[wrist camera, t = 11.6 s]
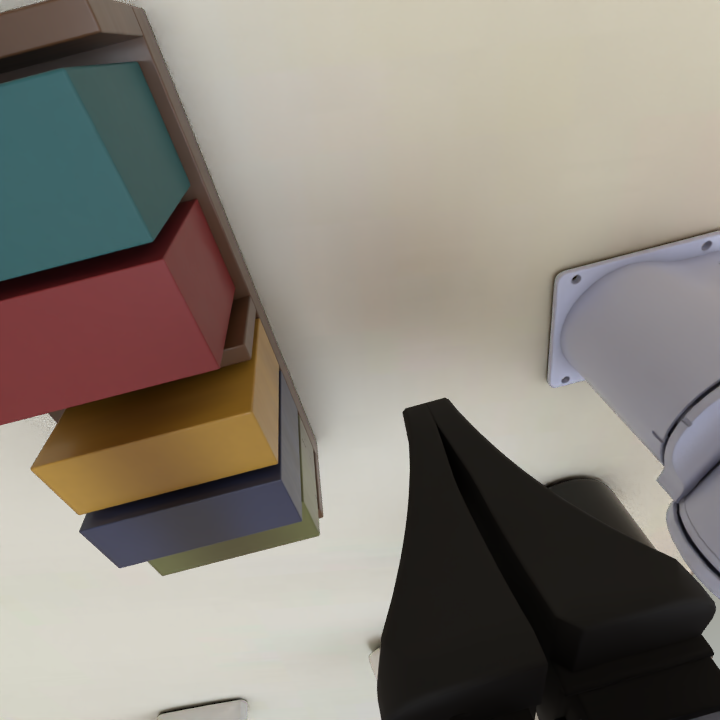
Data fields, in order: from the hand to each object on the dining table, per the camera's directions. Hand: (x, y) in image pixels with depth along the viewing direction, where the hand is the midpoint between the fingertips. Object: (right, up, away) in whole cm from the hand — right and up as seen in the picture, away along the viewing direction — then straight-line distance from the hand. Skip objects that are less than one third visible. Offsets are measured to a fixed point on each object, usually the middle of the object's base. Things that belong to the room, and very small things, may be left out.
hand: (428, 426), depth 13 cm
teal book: (-13, +9, +2) cm, 16 cm away
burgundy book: (-12, +6, +5) cm, 14 cm away
